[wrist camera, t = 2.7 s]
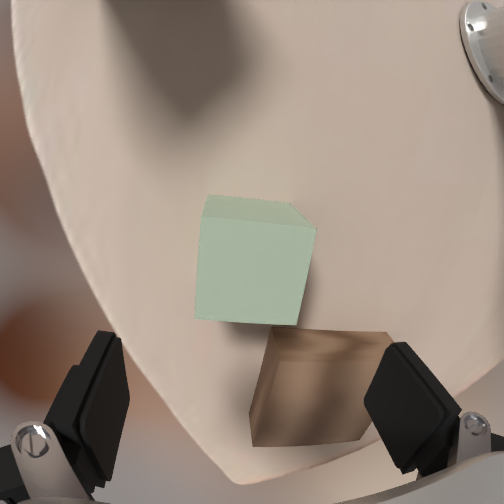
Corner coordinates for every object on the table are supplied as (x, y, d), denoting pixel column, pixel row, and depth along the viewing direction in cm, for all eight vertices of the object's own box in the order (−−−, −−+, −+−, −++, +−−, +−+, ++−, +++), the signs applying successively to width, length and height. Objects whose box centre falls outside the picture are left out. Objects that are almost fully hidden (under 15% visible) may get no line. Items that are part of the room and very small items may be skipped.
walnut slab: (385, 330, 28) (407, 360, 23) (346, 409, 32) (359, 440, 27) (270, 324, 26) (279, 361, 21) (248, 411, 30) (252, 446, 25)
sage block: (289, 202, 22) (316, 228, 16) (277, 276, 24) (296, 325, 18) (208, 194, 22) (201, 216, 15) (202, 270, 24) (194, 318, 17)
